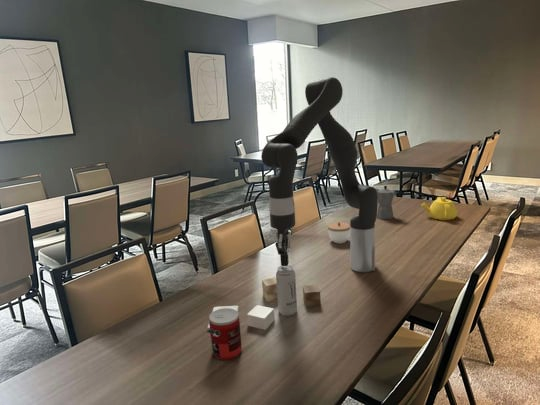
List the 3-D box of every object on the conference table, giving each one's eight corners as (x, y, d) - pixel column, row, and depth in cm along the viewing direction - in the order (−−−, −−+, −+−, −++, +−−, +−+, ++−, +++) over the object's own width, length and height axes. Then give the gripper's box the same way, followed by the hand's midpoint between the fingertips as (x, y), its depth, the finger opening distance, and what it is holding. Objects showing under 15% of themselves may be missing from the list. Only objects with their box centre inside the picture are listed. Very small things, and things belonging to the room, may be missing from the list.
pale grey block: (274, 320, 118) (273, 308, 117) (265, 330, 112) (264, 318, 111) (257, 316, 120) (257, 304, 119) (248, 326, 115) (247, 314, 114)
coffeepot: (400, 216, 212) (400, 185, 208) (391, 221, 206) (392, 188, 202) (375, 212, 223) (375, 182, 219) (366, 216, 217) (366, 185, 213)
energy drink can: (291, 318, 117) (289, 273, 114) (274, 314, 121) (272, 270, 117) (300, 309, 122) (298, 266, 119) (284, 305, 125) (281, 263, 122)
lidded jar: (325, 244, 178) (325, 225, 176) (330, 236, 188) (330, 218, 185) (348, 246, 174) (348, 226, 172) (352, 238, 184) (352, 219, 181)
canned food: (213, 344, 107) (209, 309, 104) (241, 341, 107) (238, 306, 105) (211, 362, 99) (207, 324, 97) (242, 358, 100) (238, 321, 97)
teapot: (416, 212, 219) (417, 194, 216) (450, 212, 216) (451, 193, 213) (425, 223, 199) (426, 202, 197) (462, 222, 197) (464, 201, 194)
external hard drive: (207, 332, 114) (214, 310, 126) (235, 330, 114) (238, 309, 126) (207, 327, 114) (213, 306, 126) (234, 326, 113) (238, 305, 125)
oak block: (276, 292, 135) (275, 277, 133) (281, 299, 130) (280, 283, 128) (263, 295, 133) (261, 279, 132) (267, 302, 128) (266, 286, 127)
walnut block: (318, 298, 129) (317, 284, 128) (320, 305, 124) (320, 291, 123) (303, 299, 129) (302, 285, 128) (305, 306, 124) (304, 292, 123)
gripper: (291, 217, 106) (293, 274, 111) (297, 205, 119) (299, 257, 123) (265, 217, 108) (268, 273, 112) (274, 205, 121) (277, 256, 125)
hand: (284, 264), depth 118 cm, fingers closed
